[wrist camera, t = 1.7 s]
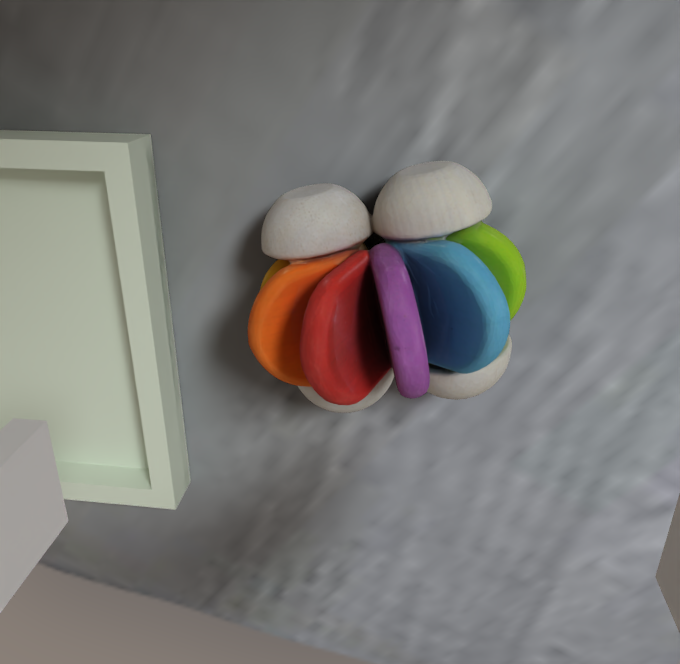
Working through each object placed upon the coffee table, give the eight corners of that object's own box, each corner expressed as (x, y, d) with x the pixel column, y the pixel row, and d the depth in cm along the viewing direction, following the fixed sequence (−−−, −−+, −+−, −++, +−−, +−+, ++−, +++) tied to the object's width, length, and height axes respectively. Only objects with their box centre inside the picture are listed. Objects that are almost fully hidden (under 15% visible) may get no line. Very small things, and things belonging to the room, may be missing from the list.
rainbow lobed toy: (245, 190, 24) (176, 249, 18) (506, 140, 22) (538, 186, 16) (297, 383, 27) (256, 492, 21) (527, 354, 25) (561, 465, 19)
